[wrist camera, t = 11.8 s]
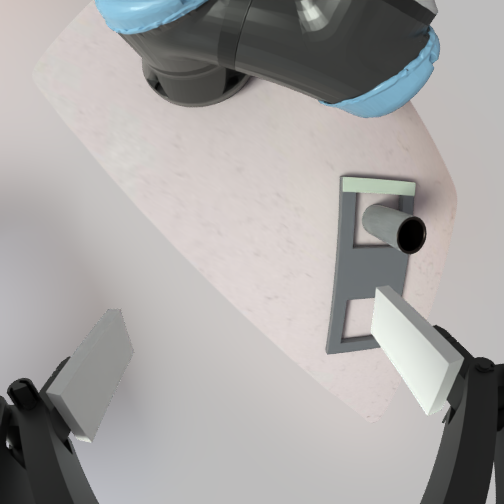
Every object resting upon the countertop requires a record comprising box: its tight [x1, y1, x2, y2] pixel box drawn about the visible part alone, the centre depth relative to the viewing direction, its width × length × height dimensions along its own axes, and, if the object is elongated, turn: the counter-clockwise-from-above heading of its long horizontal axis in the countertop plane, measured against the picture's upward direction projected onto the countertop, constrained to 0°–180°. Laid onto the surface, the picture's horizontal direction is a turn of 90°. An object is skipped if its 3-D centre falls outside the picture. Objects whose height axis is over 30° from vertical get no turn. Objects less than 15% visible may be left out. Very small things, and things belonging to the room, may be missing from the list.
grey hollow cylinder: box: [362, 204, 426, 254], centre depth 34 cm, size 4×4×10 cm
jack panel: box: [326, 177, 415, 354], centre depth 41 cm, size 28×12×1 cm, turn 1°
